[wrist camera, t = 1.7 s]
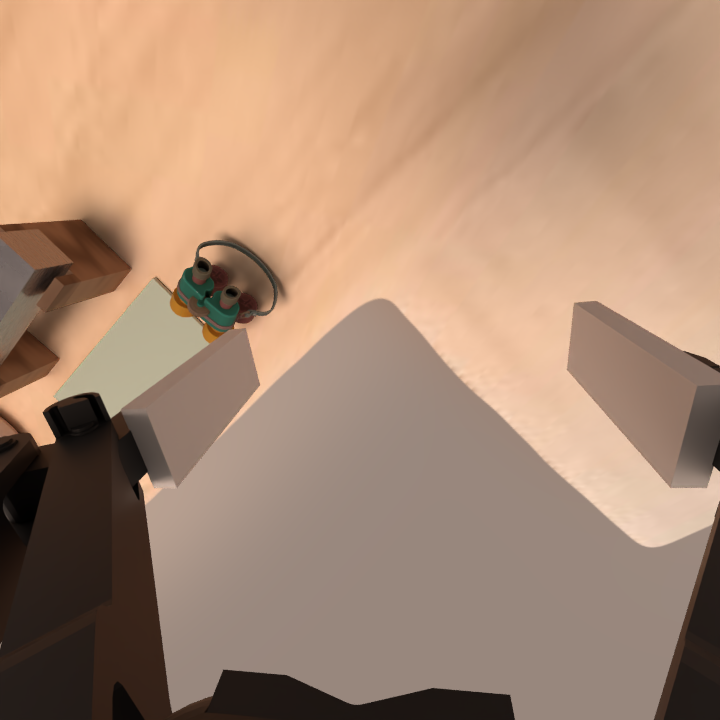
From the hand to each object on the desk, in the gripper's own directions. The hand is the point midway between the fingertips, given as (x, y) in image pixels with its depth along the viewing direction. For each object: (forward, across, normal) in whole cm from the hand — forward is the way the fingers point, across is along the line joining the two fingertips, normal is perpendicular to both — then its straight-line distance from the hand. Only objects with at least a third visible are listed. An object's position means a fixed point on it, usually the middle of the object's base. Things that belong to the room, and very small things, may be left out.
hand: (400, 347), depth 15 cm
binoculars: (+25, -19, -1) cm, 32 cm away
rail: (+18, -42, -2) cm, 46 cm away
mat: (+25, -36, -11) cm, 45 cm away
